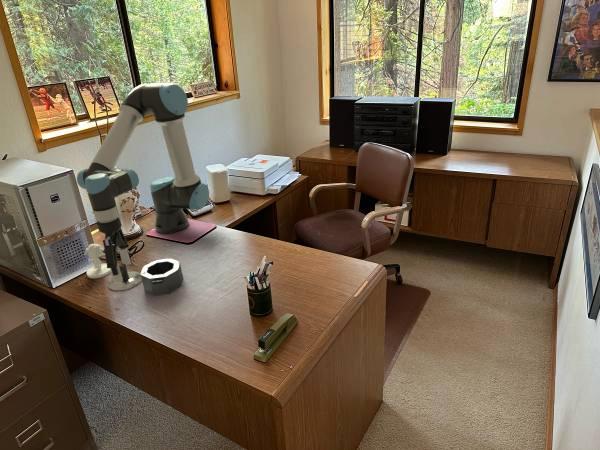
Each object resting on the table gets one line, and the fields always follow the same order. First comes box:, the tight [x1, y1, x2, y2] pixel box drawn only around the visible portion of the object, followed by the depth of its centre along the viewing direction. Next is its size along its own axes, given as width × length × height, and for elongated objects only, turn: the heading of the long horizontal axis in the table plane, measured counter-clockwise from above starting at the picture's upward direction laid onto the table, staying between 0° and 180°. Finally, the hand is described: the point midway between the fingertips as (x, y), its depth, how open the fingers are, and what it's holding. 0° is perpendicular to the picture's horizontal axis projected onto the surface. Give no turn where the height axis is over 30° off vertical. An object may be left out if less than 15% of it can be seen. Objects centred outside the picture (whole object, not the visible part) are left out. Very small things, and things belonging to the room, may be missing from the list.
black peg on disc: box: [107, 263, 142, 292], centre depth 157 cm, size 12×12×7 cm
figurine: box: [84, 243, 112, 279], centre depth 164 cm, size 9×9×12 cm
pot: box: [140, 257, 184, 297], centre depth 153 cm, size 16×13×7 cm
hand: (123, 272), depth 157 cm, fingers open, 12 cm apart
